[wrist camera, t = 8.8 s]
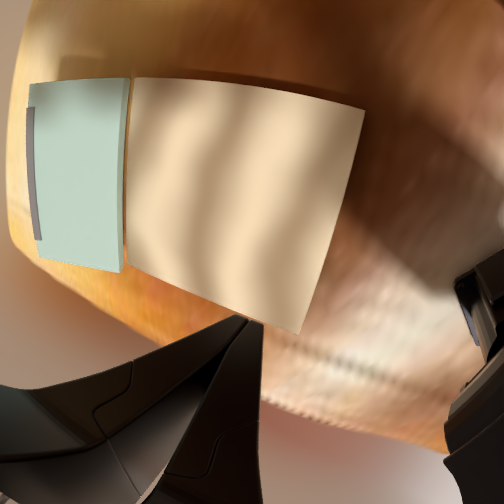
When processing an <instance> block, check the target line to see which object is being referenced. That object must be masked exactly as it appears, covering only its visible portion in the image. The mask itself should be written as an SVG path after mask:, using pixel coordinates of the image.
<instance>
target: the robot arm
mask: <svg viewBox="0 0 504 504" xmlns="http://www.w3.org/2000/svg"><path fill="white" fill-rule="evenodd" d="M460 283H463V285H462V286H460V287H458V284H460ZM453 286H454V289H455V292H456V294H457V296H458V299H459V301H460V304H461V306H462V309H463V311H464V314H465V317H466V319H467V322H468V325H469V327H470V330H471V333H472V336H473V339H474V342H475V344H476V345H477V346H480V347H481V350H482V354H483V357H484V361H485V366H484V367H483V368H482V369H481V370H480V371H479V372H478V373H477V374H476V375H475V376H474V377H473V378H472V380H471V381H470V382H469V383H468V382H467V383H466V384H465V385H464V386H463V387H462V388H461V390H460V394H459V395H458V396H457V397H456V398H455V400H454V401H453V403H452V404H451V407H450V411H449V416H448V420H447V421H446V422H445V423H444V433H445V441H446V444H447V448H448V451H449V453H450V455H449V456H448V457H446V458H445V459H444V460H443V463H444V465H445V466H446V467H447V468H448V470H449V471H450V472H451V473H452V475H453V476H454V478H455V480H456V482H457V485H458V486H459V489H460V493H461V496H462V501H463V504H504V249H503V250H501V251H500V252H498V253H496V254H495V255H493V256H491V257H490V258H488V259H486V260H485V261H483V262H481V263H480V264H478V265H477V266H476V268H474V269H472V270H470V271H469V272H467V273H465V274H463V275H462V276H460V277H458V278H456V279H455V281H454V283H453ZM263 337H264V325H263V324H262V323H259V322H256V321H254V320H250V321H249V319H248V318H246V317H243V316H240V315H238V314H234V315H232V316H230V317H228V318H226V319H223V320H221V321H219V322H217V323H215V324H213V325H211V326H208V327H206V328H204V329H202V330H200V331H197V332H195V333H193V334H191V335H189V336H186V337H184V338H182V339H180V340H177V341H175V342H173V343H171V344H168V345H166V346H164V347H162V348H159V349H157V350H155V351H152V352H150V353H148V354H145V355H143V356H141V357H138V358H136V359H134V360H133V361H129V362H126V363H124V364H121V365H119V366H116V367H114V368H111V369H108V370H106V371H103V372H100V373H97V374H93V375H90V376H87V377H83V378H80V379H76V380H73V381H69V382H65V383H61V384H57V385H53V386H49V387H45V388H40V389H17V388H12V387H8V386H4V385H0V504H135V503H136V502H137V501H138V500H139V498H140V496H142V495H143V493H144V492H145V491H146V489H147V488H148V487H149V486H150V485H151V483H152V482H153V481H154V480H155V478H156V477H157V475H159V473H160V472H161V471H162V469H163V468H164V467H165V465H166V464H167V463H168V461H169V460H170V461H169V463H168V465H167V467H166V469H165V470H164V474H163V475H162V477H161V478H160V480H159V481H158V483H157V485H156V486H155V488H154V489H153V491H152V492H151V493H150V495H149V496H148V497H147V498H146V499H145V500H144V501H143V502H142V503H141V504H263V498H262V489H261V480H260V470H259V456H258V441H259V438H258V437H259V417H260V399H261V379H262V359H263Z"/></svg>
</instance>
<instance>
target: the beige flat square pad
mask: <svg viewBox="0 0 504 504" xmlns="http://www.w3.org/2000/svg"><path fill="white" fill-rule="evenodd" d="M365 112H366V111H365V110H362V109H358V108H354V107H351V106H347V105H343V104H340V103H336V102H332V101H327V100H323V99H319V98H315V97H310V96H305V95H301V94H296V93H291V92H285V91H280V90H274V89H268V88H262V87H256V86H249V85H241V84H234V83H225V82H216V81H205V80H192V79H176V78H143V77H135V80H134V88H133V97H132V106H131V116H130V127H129V140H128V157H127V182H126V242H127V264H128V265H130V266H132V267H135V268H137V269H139V270H141V271H143V272H145V273H148V274H150V275H152V276H154V277H156V278H159V279H161V280H163V281H165V282H168V283H170V284H172V285H174V286H177V287H179V288H181V289H184V290H186V291H188V292H191V293H193V294H195V295H198V296H200V297H202V298H205V299H207V300H210V301H212V302H214V303H217V304H219V305H222V306H224V307H227V308H229V309H232V310H234V311H236V312H239V313H241V314H244V315H247V316H249V317H252V318H254V319H257V320H259V321H262V322H264V323H267V324H270V325H272V326H275V327H278V328H280V329H283V330H286V331H288V332H291V333H294V334H296V335H299V333H300V330H301V328H302V326H303V323H304V320H305V318H306V315H307V312H308V309H309V306H310V303H311V301H312V298H313V295H314V292H315V289H316V286H317V283H318V280H319V277H320V274H321V271H322V268H323V265H324V262H325V259H326V255H327V252H328V249H329V246H330V243H331V239H332V236H333V233H334V229H335V226H336V223H337V219H338V216H339V213H340V209H341V206H342V202H343V199H344V195H345V191H346V188H347V184H348V180H349V177H350V173H351V169H352V165H353V162H354V158H355V154H356V150H357V146H358V142H359V138H360V133H361V129H362V125H363V121H364V116H365Z"/></svg>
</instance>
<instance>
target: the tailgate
mask: <svg viewBox="0 0 504 504" xmlns="http://www.w3.org/2000/svg"><path fill="white" fill-rule="evenodd" d="M130 80H131V78H94V79H76V80H64V81H53V82H44V83H36V84H30V87H29V101H28V108H27V114H26V157H27V177H28V190H29V200H30V209H31V217H32V225H33V231H34V238H35V240H36V242H37V248H38V254H39V257H41V258H45V259H50V260H55V261H60V262H64V263H69V264H74V265H79V266H84V267H90V268H95V269H100V270H105V271H111V272H116V273H120V272H121V270H122V268H123V267H124V254H123V219H122V193H123V159H124V141H125V127H126V115H127V105H128V96H129V87H130Z"/></svg>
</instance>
